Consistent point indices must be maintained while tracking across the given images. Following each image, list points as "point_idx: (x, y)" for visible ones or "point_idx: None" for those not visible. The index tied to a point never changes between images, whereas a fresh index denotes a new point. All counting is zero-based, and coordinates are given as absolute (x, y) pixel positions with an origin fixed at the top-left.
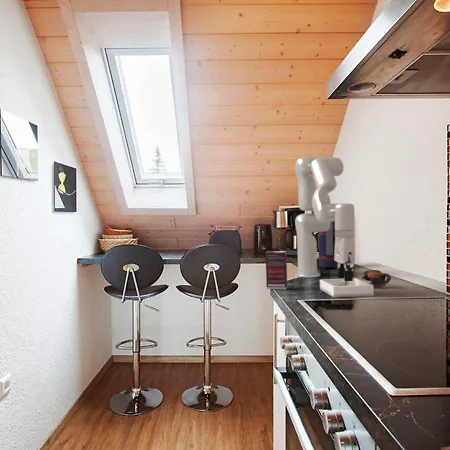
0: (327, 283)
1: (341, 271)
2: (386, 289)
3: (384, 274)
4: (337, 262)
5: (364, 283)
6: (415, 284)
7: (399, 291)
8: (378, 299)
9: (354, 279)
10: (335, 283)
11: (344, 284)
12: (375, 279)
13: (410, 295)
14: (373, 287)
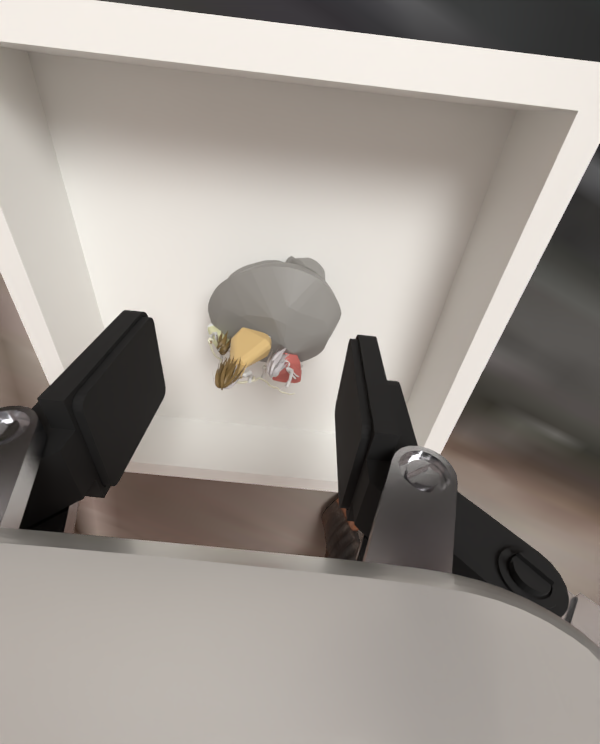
0: (217, 24)
1: (349, 430)
2: (291, 525)
3: None
4: (548, 580)
5: (213, 463)
6: None
7: (231, 540)
8: (10, 383)
9: None
10: (459, 306)
11: (235, 314)
12: None
13: (137, 532)
14: (334, 502)
